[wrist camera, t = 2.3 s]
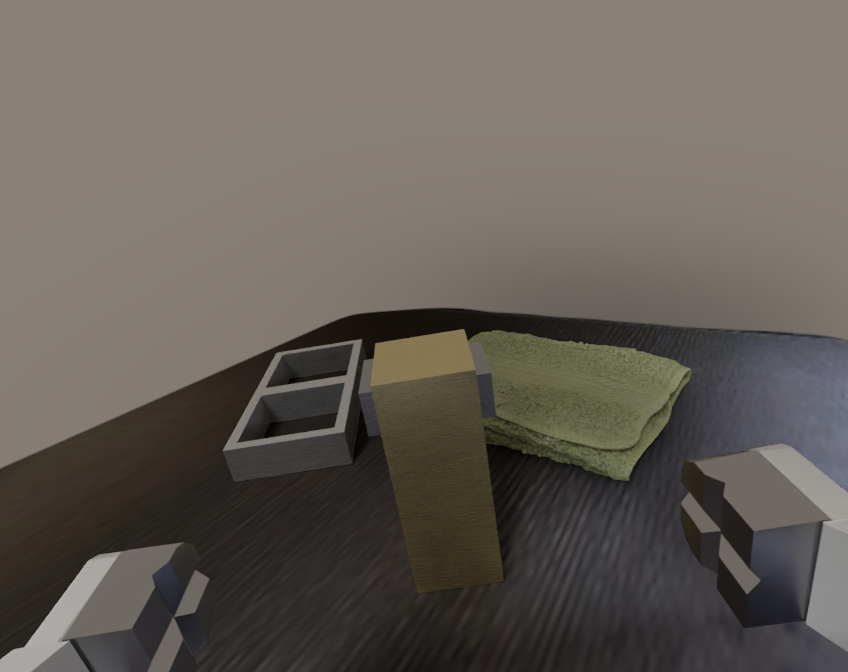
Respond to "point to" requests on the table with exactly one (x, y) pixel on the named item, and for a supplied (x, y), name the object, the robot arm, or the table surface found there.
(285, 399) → the rack frame
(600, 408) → the washcloth
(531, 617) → the table surface
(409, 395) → the pale yellow rectangular block
